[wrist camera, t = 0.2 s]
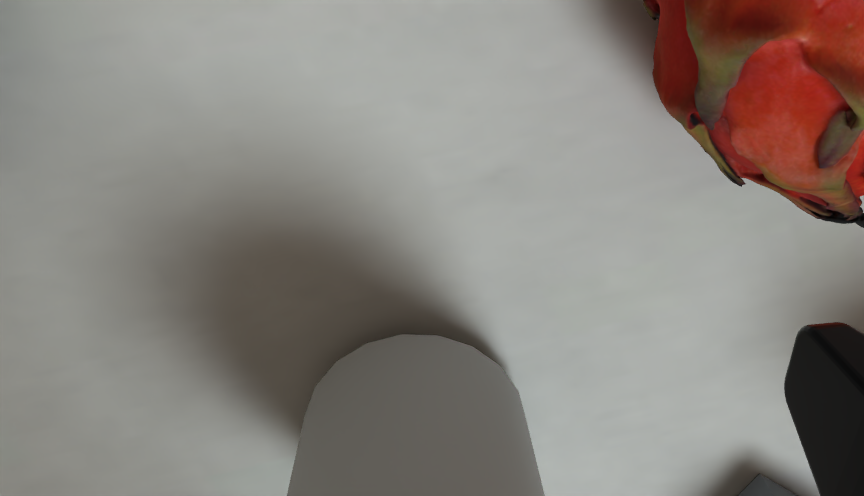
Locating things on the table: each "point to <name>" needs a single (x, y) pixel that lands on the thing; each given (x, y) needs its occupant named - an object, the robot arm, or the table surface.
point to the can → (415, 425)
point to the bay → (765, 488)
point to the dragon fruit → (771, 93)
